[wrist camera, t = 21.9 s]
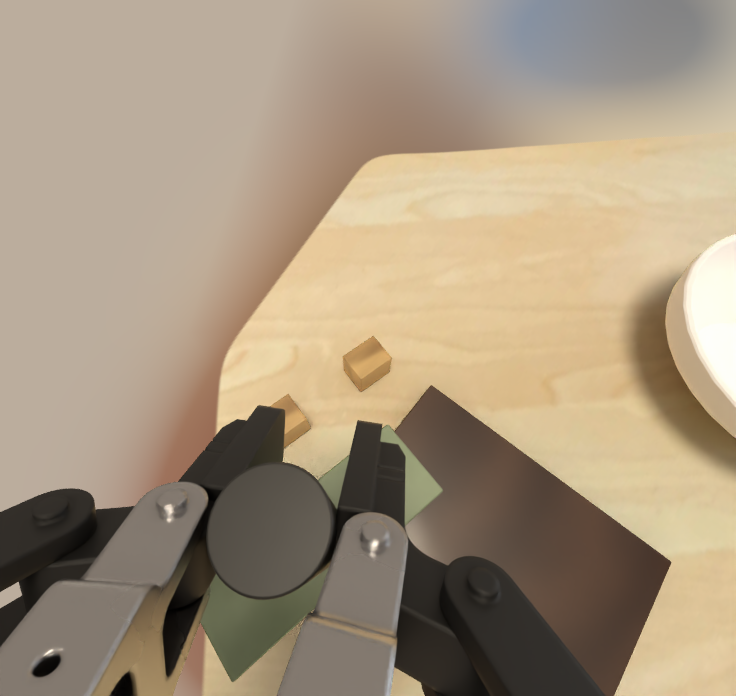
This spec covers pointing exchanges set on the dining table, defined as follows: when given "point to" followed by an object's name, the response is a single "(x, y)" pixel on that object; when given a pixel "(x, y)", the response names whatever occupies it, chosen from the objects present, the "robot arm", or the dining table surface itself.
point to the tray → (533, 536)
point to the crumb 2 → (367, 363)
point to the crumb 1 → (292, 420)
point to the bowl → (707, 330)
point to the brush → (279, 550)
